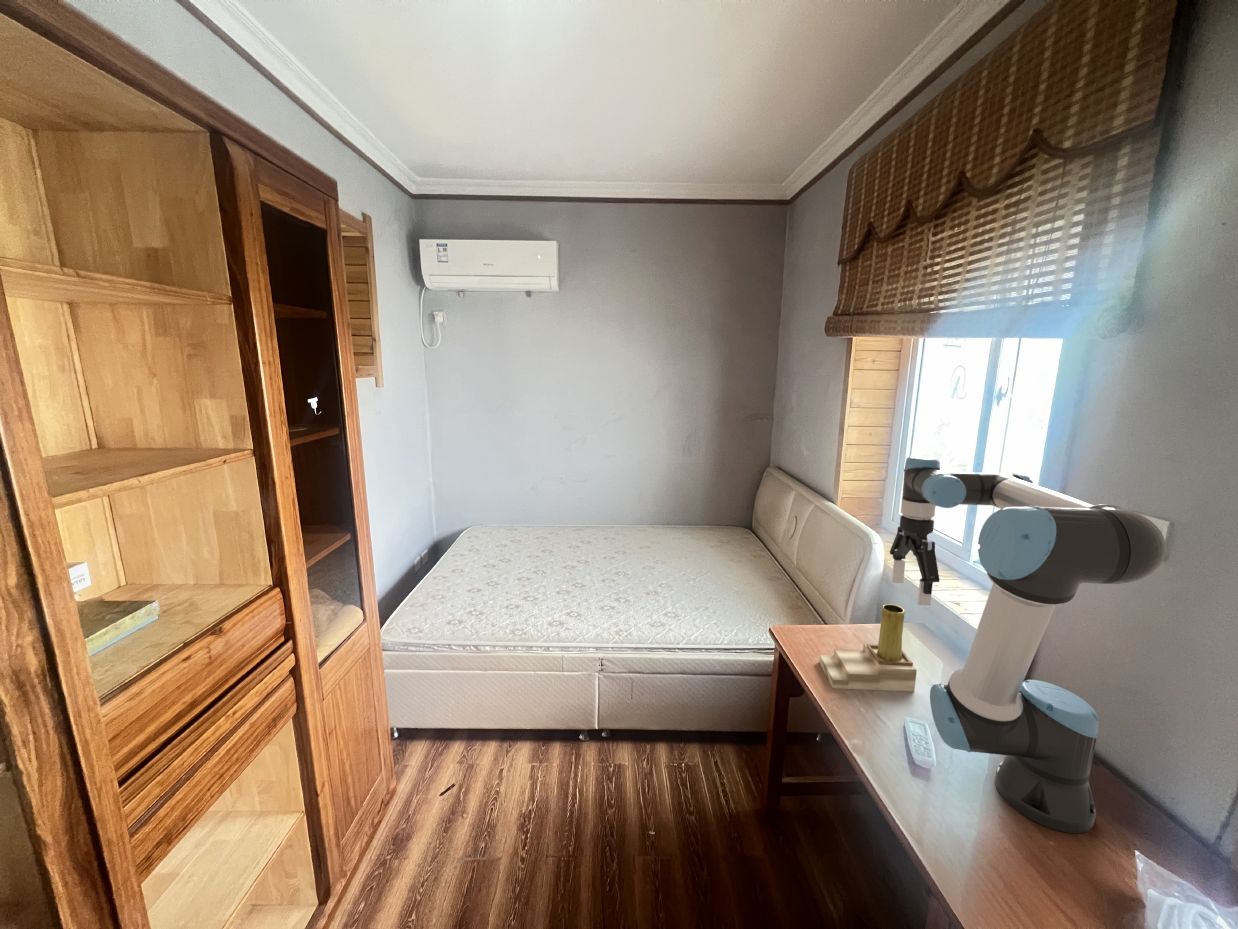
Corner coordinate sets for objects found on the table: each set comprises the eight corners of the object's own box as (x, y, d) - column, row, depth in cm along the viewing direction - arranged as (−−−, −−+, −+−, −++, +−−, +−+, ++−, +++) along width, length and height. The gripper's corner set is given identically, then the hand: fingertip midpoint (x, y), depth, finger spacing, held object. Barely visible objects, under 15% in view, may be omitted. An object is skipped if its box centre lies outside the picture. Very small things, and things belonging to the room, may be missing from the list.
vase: (897, 665, 133) (901, 616, 130) (873, 656, 137) (877, 608, 135) (905, 656, 137) (909, 608, 134) (881, 647, 141) (885, 601, 139)
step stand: (914, 691, 132) (916, 666, 131) (832, 688, 134) (834, 663, 133) (894, 665, 144) (896, 642, 142) (819, 662, 146) (820, 639, 144)
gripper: (962, 530, 116) (952, 615, 119) (907, 503, 140) (901, 574, 144) (928, 530, 116) (920, 614, 120) (880, 503, 141) (874, 574, 144)
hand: (910, 593), depth 132 cm, fingers open, 13 cm apart
